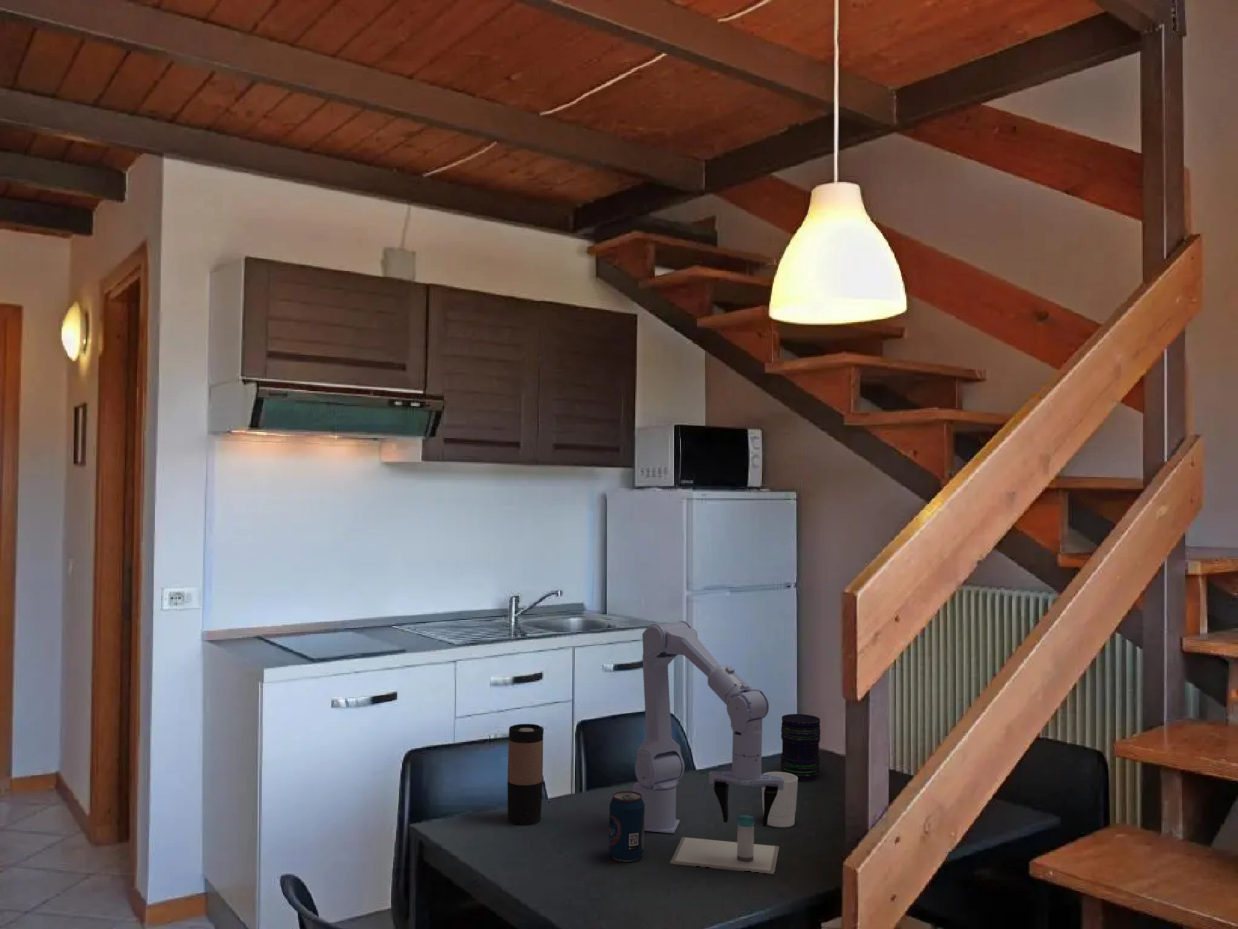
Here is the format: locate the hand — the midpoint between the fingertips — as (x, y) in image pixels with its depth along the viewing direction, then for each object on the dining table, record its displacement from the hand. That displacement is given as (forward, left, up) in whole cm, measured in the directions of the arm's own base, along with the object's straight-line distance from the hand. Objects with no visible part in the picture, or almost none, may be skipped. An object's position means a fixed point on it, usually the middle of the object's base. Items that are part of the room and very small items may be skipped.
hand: (745, 822), depth 196 cm
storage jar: (+8, +62, -8) cm, 63 cm away
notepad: (-4, +2, -7) cm, 9 cm away
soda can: (-23, -4, -8) cm, 25 cm away
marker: (0, 0, -7) cm, 7 cm away
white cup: (+5, +25, -8) cm, 27 cm away
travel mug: (-49, +11, -8) cm, 51 cm away
